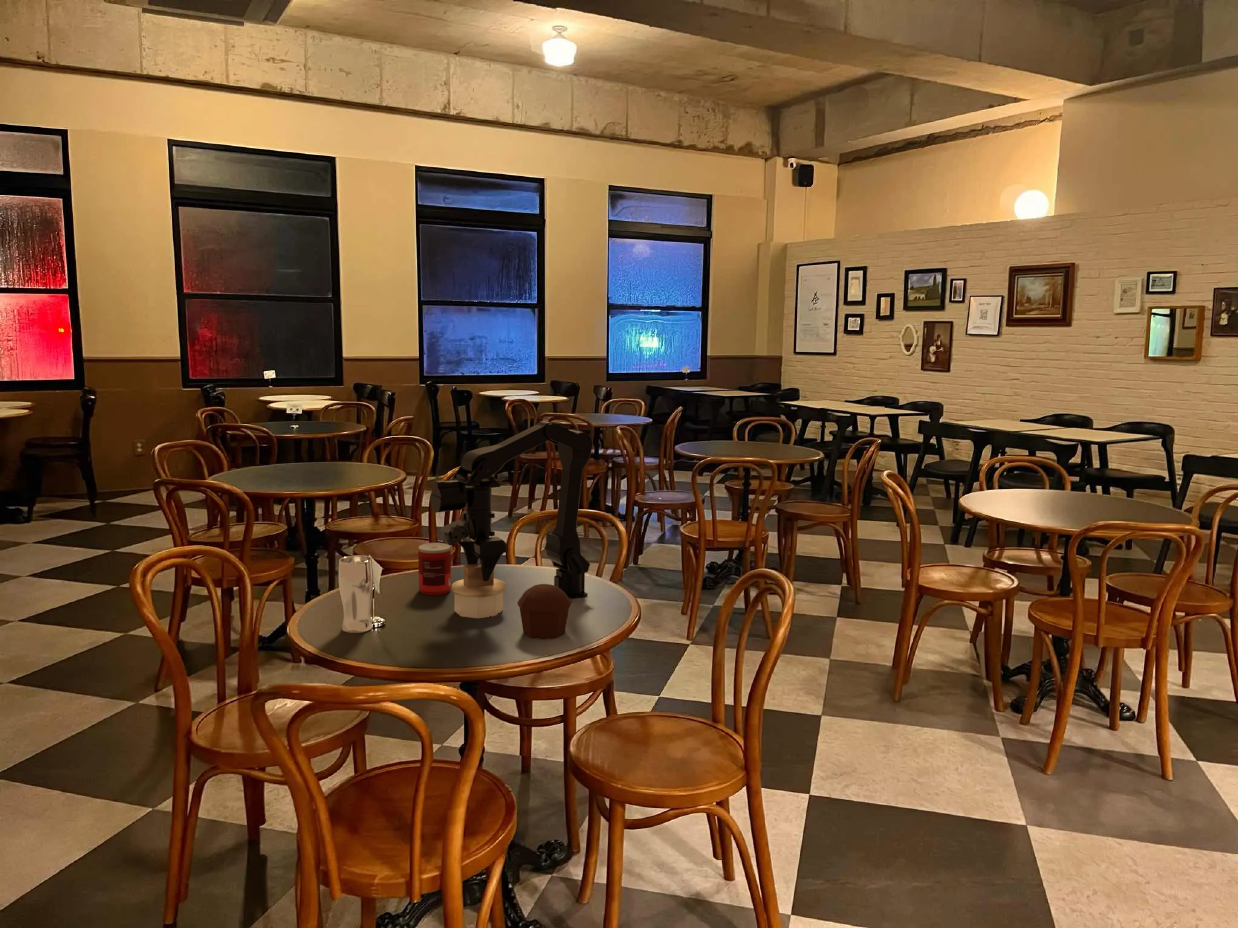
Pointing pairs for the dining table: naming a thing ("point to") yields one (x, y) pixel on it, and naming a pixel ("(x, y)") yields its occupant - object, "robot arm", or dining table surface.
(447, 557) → the canned food
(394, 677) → the dining table surface
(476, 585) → the lid
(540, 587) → the muffin
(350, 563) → the beer glass
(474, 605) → the hollow octagonal cup
